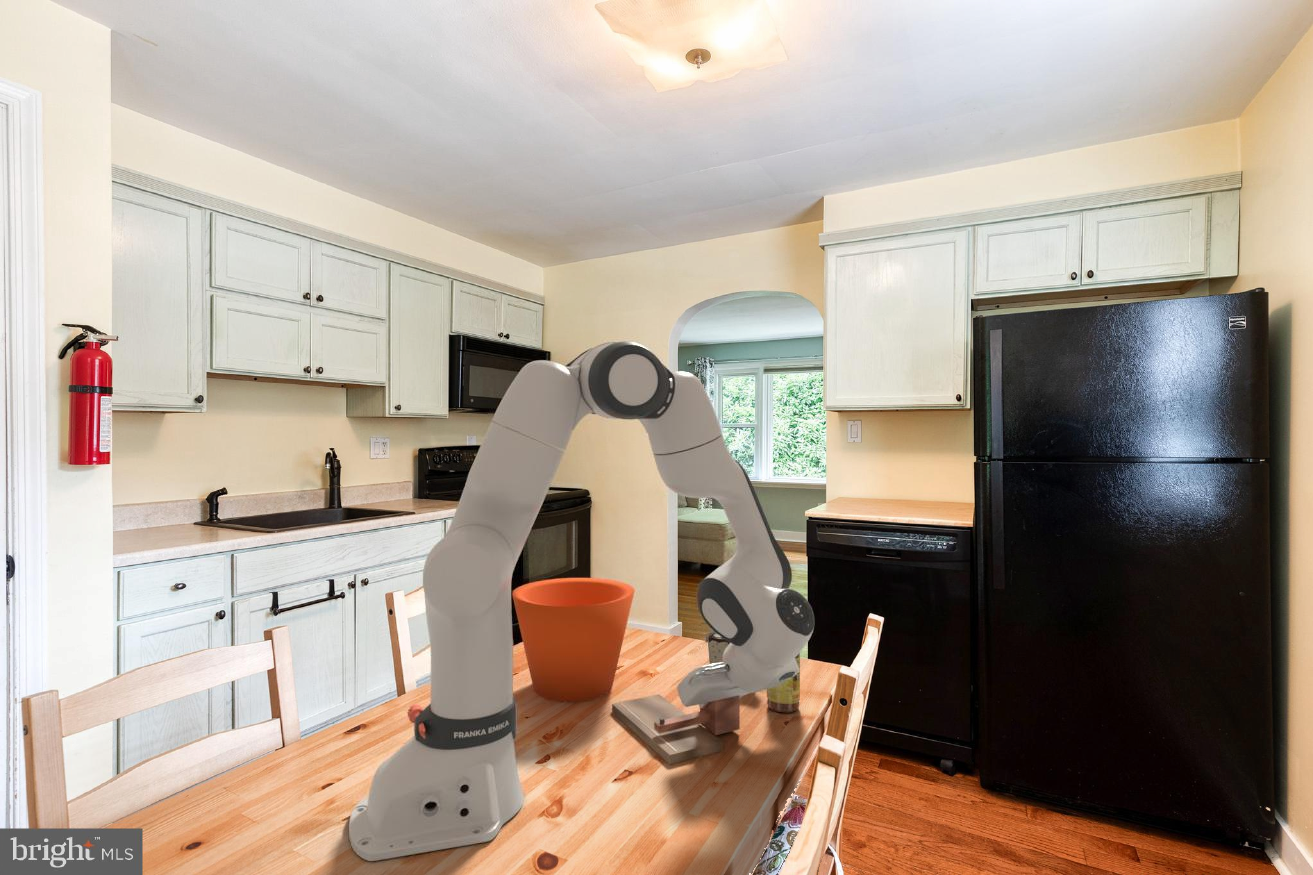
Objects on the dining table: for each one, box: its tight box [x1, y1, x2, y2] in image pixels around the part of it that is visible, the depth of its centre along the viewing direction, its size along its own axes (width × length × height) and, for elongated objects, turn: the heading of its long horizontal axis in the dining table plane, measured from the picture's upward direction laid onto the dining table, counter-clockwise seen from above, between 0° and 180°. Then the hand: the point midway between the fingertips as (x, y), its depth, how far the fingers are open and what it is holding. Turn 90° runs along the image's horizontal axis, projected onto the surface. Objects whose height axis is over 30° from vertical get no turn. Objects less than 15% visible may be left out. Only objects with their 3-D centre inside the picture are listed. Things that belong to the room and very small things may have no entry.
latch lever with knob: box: [654, 695, 741, 736], centre depth 111 cm, size 15×5×9 cm, turn 118°
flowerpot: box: [511, 577, 635, 704], centre depth 133 cm, size 25×25×20 cm
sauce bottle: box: [766, 652, 801, 714], centre depth 123 cm, size 6×6×20 cm
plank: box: [611, 694, 724, 765], centre depth 113 cm, size 10×22×2 cm, turn 28°
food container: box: [704, 630, 730, 664], centre depth 136 cm, size 12×6×10 cm, turn 58°
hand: (717, 700), depth 113 cm, fingers closed on latch lever with knob, 5 cm apart
